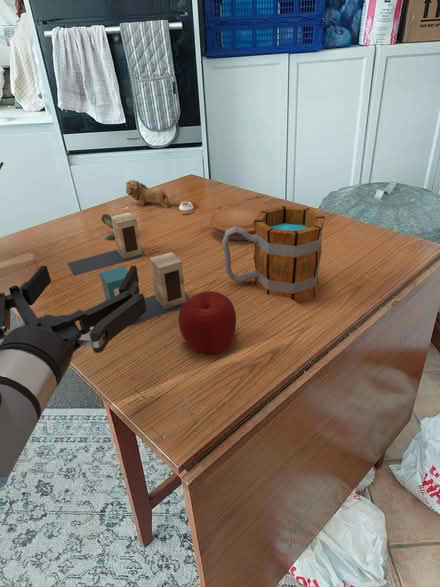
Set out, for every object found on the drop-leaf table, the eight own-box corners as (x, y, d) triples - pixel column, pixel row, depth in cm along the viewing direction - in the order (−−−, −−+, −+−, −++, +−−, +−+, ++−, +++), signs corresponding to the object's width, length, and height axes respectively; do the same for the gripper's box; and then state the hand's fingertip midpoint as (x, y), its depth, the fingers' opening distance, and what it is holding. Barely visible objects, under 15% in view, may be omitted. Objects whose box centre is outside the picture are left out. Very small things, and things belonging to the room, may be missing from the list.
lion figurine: (126, 212, 127) (121, 183, 122) (132, 206, 131) (127, 177, 126) (174, 214, 124) (171, 184, 120) (178, 207, 129) (176, 177, 124)
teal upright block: (108, 313, 81) (99, 272, 76) (131, 306, 82) (123, 265, 78) (116, 326, 77) (107, 283, 72) (140, 318, 79) (132, 276, 74)
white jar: (193, 216, 122) (196, 209, 126) (192, 206, 121) (196, 200, 125) (176, 216, 123) (180, 209, 127) (175, 206, 122) (179, 199, 126)
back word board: (68, 268, 99) (66, 262, 99) (137, 249, 106) (136, 244, 105) (75, 281, 94) (74, 275, 93) (147, 261, 101) (146, 255, 100)
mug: (311, 268, 95) (316, 204, 86) (327, 302, 83) (334, 232, 75) (222, 274, 94) (219, 209, 86) (226, 309, 83) (223, 238, 75)
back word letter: (117, 251, 102) (110, 216, 97) (135, 247, 104) (129, 212, 99) (123, 259, 99) (117, 223, 94) (142, 254, 101) (136, 218, 96)
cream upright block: (155, 298, 84) (149, 258, 80) (176, 291, 86) (171, 251, 81) (164, 309, 81) (159, 268, 76) (186, 302, 83) (182, 261, 78)
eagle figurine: (136, 227, 115) (103, 222, 114) (134, 212, 108) (98, 206, 108) (130, 252, 111) (96, 246, 111) (127, 238, 105) (91, 232, 105)
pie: (278, 239, 107) (279, 221, 105) (218, 248, 105) (217, 230, 102) (258, 217, 120) (259, 199, 117) (205, 224, 117) (203, 207, 115)
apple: (170, 354, 72) (164, 306, 67) (202, 324, 79) (198, 278, 74) (218, 373, 68) (215, 323, 62) (247, 340, 75) (246, 292, 69)
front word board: (99, 319, 82) (97, 313, 81) (180, 293, 88) (179, 287, 88) (110, 339, 76) (108, 332, 76) (195, 309, 83) (194, 303, 82)
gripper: (-70, 394, 49) (18, 294, 67) (143, 400, 47) (175, 295, 64) (-100, 343, 45) (2, 251, 63) (132, 347, 43) (170, 250, 60)
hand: (90, 273), depth 64 cm, fingers open, 13 cm apart
